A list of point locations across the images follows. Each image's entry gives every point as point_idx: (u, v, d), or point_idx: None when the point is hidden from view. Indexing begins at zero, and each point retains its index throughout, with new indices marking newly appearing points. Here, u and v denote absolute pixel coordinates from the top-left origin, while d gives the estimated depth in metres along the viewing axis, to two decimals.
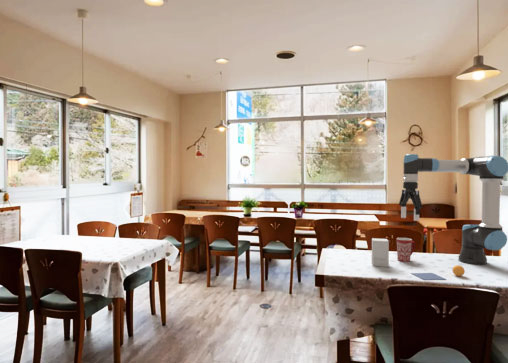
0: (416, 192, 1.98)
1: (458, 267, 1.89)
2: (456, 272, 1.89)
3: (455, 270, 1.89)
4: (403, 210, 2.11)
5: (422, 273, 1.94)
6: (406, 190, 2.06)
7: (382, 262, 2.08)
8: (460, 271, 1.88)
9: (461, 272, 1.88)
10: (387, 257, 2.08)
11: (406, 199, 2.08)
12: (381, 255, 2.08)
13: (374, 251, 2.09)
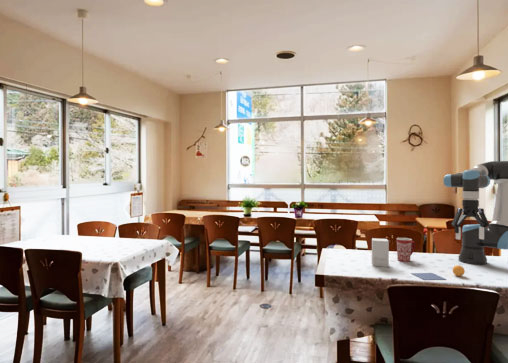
0: (458, 210, 1.91)
1: (458, 267, 1.89)
2: (456, 272, 1.89)
3: (455, 270, 1.89)
4: (480, 230, 1.93)
5: (422, 273, 1.94)
6: None
7: (382, 262, 2.08)
8: (460, 271, 1.88)
9: (461, 272, 1.88)
10: (387, 257, 2.08)
11: (476, 218, 1.93)
12: (381, 255, 2.08)
13: (374, 251, 2.09)
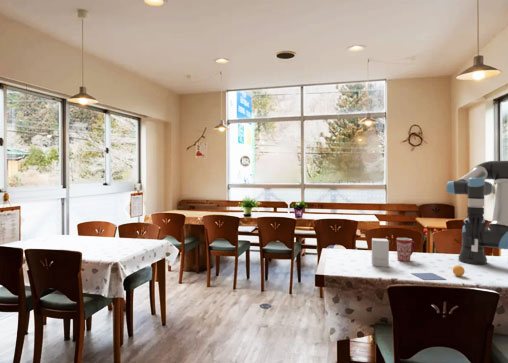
0: (464, 222, 1.91)
1: (458, 267, 1.89)
2: (456, 272, 1.89)
3: (455, 270, 1.89)
4: None
5: (422, 273, 1.94)
6: None
7: (382, 262, 2.08)
8: (460, 271, 1.88)
9: (461, 272, 1.88)
10: (387, 257, 2.08)
11: (476, 227, 1.91)
12: (381, 255, 2.08)
13: (374, 251, 2.09)
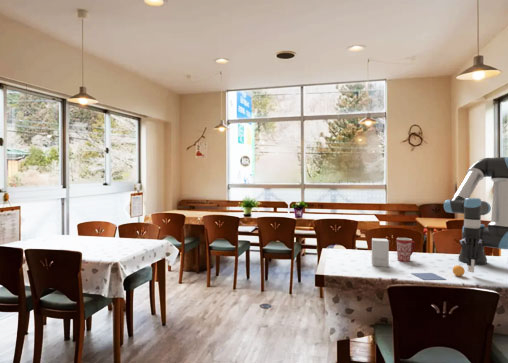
0: (460, 242, 1.90)
1: (458, 267, 1.89)
2: (456, 272, 1.89)
3: (455, 270, 1.89)
4: None
5: (422, 273, 1.94)
6: None
7: (382, 262, 2.08)
8: (460, 271, 1.88)
9: (461, 272, 1.88)
10: (387, 257, 2.08)
11: (472, 248, 1.91)
12: (381, 255, 2.08)
13: (374, 251, 2.09)
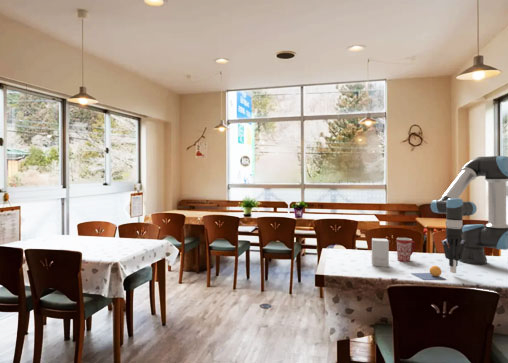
0: (442, 243, 1.90)
1: (440, 270, 1.88)
2: (436, 267, 1.87)
3: (438, 267, 1.88)
4: None
5: (422, 273, 1.94)
6: None
7: (382, 262, 2.08)
8: (439, 271, 1.86)
9: (438, 271, 1.86)
10: (387, 257, 2.08)
11: (454, 248, 1.90)
12: (381, 255, 2.08)
13: (374, 251, 2.09)
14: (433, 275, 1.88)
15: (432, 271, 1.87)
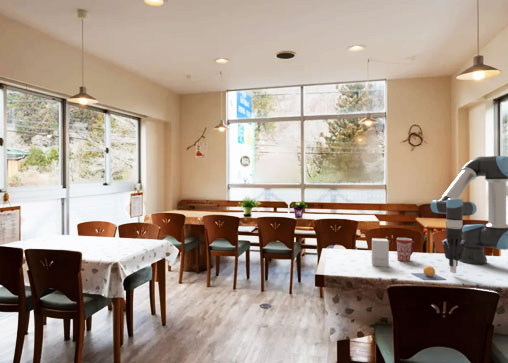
0: (442, 243, 1.90)
1: (430, 267, 1.87)
2: (426, 271, 1.87)
3: (426, 269, 1.87)
4: None
5: (422, 273, 1.94)
6: None
7: (382, 262, 2.08)
8: (431, 271, 1.86)
9: (431, 272, 1.86)
10: (387, 257, 2.08)
11: (454, 248, 1.90)
12: (381, 255, 2.08)
13: (374, 251, 2.09)
14: None
15: (428, 276, 1.87)
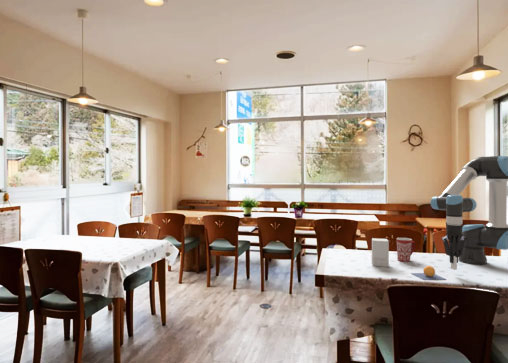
0: (443, 240, 1.90)
1: (430, 267, 1.87)
2: (426, 271, 1.87)
3: (426, 269, 1.87)
4: None
5: (422, 273, 1.94)
6: None
7: (382, 262, 2.08)
8: (431, 271, 1.86)
9: (431, 272, 1.86)
10: (387, 257, 2.08)
11: (455, 245, 1.90)
12: (381, 255, 2.08)
13: (374, 251, 2.09)
14: None
15: (428, 276, 1.87)
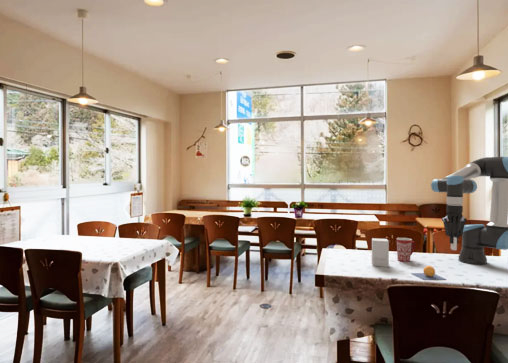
0: (443, 220, 1.89)
1: (430, 267, 1.87)
2: (426, 271, 1.87)
3: (426, 269, 1.87)
4: None
5: (422, 273, 1.94)
6: None
7: (382, 262, 2.08)
8: (431, 271, 1.86)
9: (431, 272, 1.86)
10: (387, 257, 2.08)
11: (455, 225, 1.90)
12: (381, 255, 2.08)
13: (374, 251, 2.09)
14: None
15: (428, 276, 1.87)
